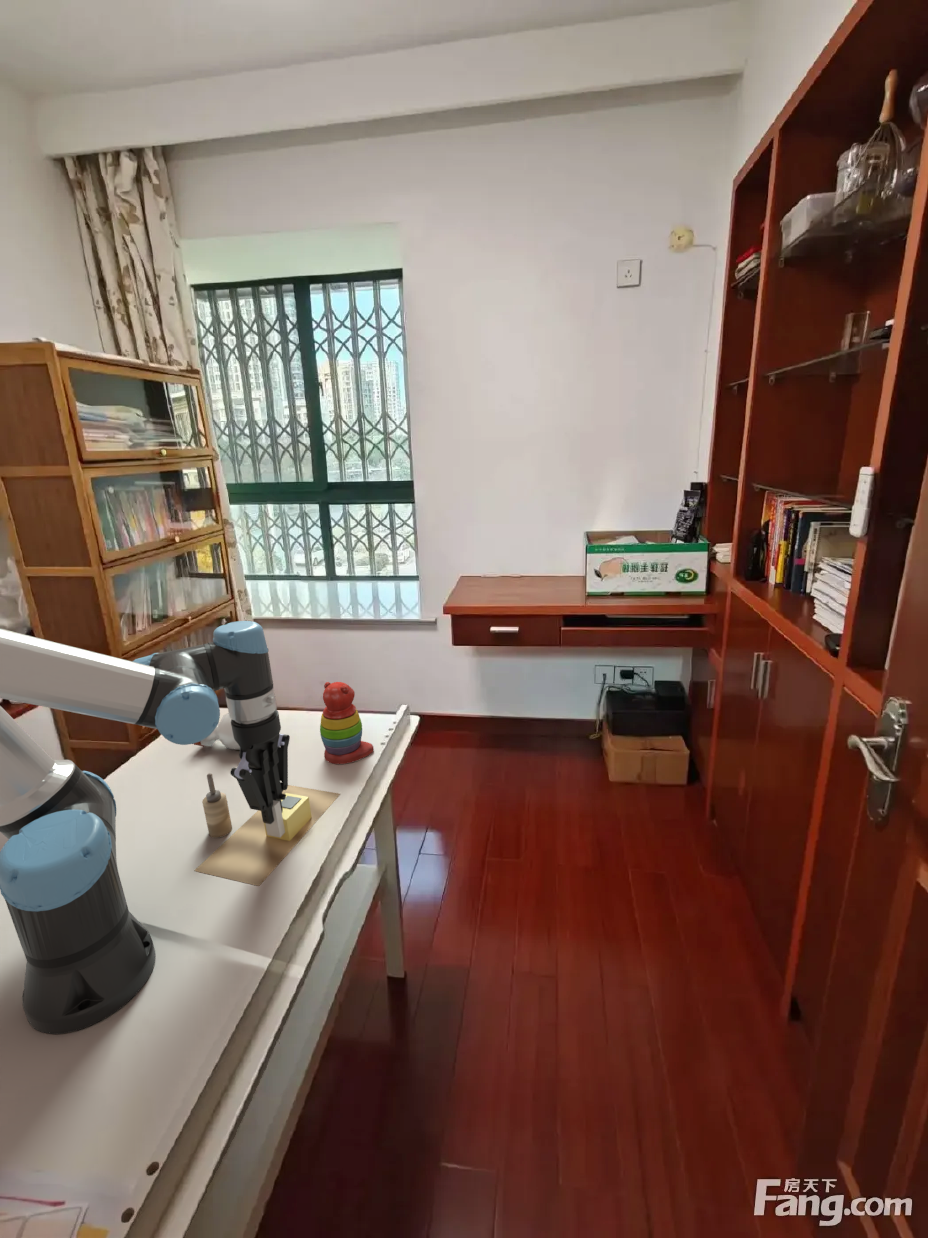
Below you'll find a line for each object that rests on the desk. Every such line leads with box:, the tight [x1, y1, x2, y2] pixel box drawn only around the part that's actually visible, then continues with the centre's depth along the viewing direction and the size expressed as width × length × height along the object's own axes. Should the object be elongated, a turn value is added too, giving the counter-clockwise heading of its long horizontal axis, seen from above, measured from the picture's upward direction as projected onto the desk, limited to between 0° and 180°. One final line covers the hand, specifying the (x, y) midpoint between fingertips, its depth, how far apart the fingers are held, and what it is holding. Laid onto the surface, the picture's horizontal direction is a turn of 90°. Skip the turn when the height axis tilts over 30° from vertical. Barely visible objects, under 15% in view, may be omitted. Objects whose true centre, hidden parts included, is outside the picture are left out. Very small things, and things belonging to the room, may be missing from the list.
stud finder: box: [264, 793, 312, 841], centre depth 106 cm, size 7×5×5 cm
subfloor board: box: [194, 784, 341, 887], centre depth 107 cm, size 26×18×1 cm
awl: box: [201, 772, 233, 839], centre depth 105 cm, size 4×4×13 cm
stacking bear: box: [319, 681, 375, 765], centre depth 131 cm, size 11×10×18 cm
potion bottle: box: [193, 712, 240, 751], centre depth 138 cm, size 9×10×15 cm
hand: (276, 833), depth 103 cm, fingers closed
